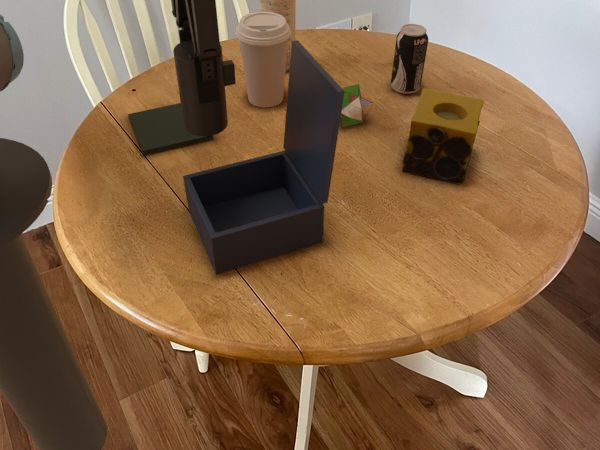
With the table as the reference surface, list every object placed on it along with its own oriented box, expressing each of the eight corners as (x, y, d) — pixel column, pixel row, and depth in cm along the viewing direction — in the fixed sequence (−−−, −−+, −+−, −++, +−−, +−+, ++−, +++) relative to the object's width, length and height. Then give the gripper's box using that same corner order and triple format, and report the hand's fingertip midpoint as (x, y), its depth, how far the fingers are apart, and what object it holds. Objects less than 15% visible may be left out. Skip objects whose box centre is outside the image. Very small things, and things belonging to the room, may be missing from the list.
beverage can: (392, 79, 115) (400, 20, 107) (421, 83, 114) (431, 24, 106) (387, 93, 111) (395, 33, 103) (418, 98, 110) (428, 38, 102)
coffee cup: (232, 106, 107) (225, 28, 97) (251, 81, 114) (247, 6, 104) (281, 116, 105) (279, 37, 95) (298, 90, 112) (298, 13, 102)
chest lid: (338, 91, 66) (344, 90, 66) (291, 40, 75) (297, 40, 75) (321, 204, 77) (327, 202, 77) (283, 147, 86) (288, 146, 86)
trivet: (128, 118, 104) (127, 113, 104) (194, 104, 108) (193, 100, 107) (143, 156, 96) (142, 151, 96) (213, 139, 100) (212, 134, 99)
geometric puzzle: (319, 100, 105) (333, 81, 98) (352, 92, 107) (368, 72, 100) (333, 137, 104) (348, 120, 97) (366, 128, 107) (384, 111, 99)
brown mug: (190, 140, 78) (179, 64, 70) (179, 116, 82) (168, 42, 74) (243, 128, 80) (239, 54, 72) (230, 106, 84) (224, 33, 76)
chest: (216, 274, 78) (211, 238, 73) (188, 211, 87) (182, 175, 82) (322, 242, 82) (324, 206, 77) (286, 185, 91) (285, 150, 86)
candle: (413, 138, 101) (421, 86, 94) (472, 150, 98) (485, 98, 91) (399, 172, 94) (408, 119, 87) (463, 186, 91) (477, 133, 84)
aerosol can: (302, 64, 119) (303, -38, 106) (279, 76, 116) (278, -27, 102) (277, 53, 123) (275, -47, 109) (254, 65, 119) (249, -37, 105)
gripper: (242, -87, 55) (252, 120, 71) (191, -134, 68) (209, 51, 84) (164, -79, 53) (192, 132, 69) (126, -129, 66) (157, 60, 82)
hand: (201, 87), depth 77 cm, fingers closed on brown mug, 6 cm apart
